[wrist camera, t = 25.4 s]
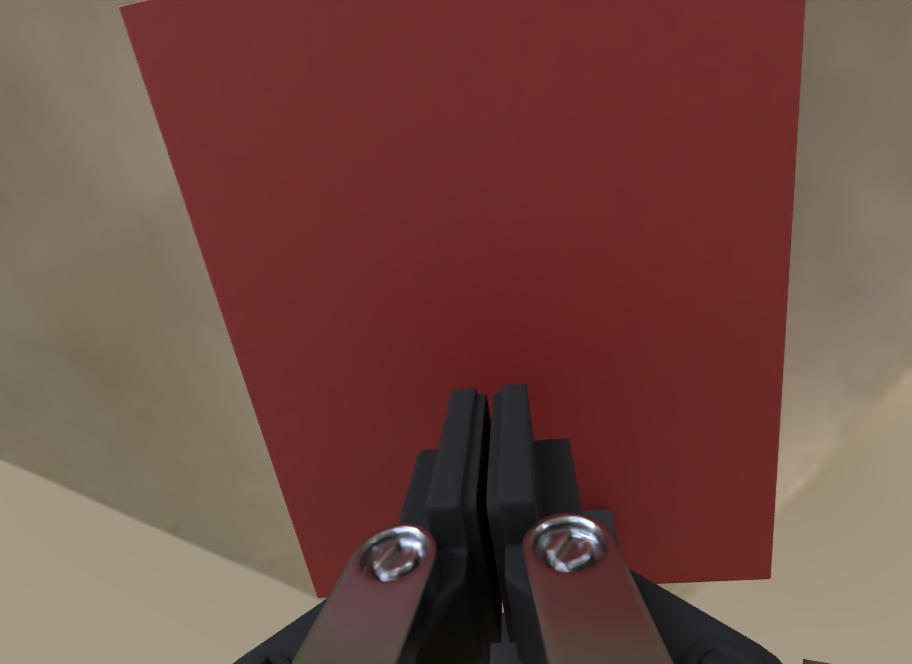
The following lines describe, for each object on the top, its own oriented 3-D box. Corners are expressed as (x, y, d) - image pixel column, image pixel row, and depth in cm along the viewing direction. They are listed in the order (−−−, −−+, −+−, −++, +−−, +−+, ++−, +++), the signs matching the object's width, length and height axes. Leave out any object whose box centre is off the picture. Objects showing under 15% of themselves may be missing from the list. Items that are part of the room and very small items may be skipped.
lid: (758, 556, 15) (893, 795, 9) (325, 577, 17) (241, 785, 11) (792, -136, 9) (1149, -465, 4) (142, 12, 11) (-179, -81, 6)
